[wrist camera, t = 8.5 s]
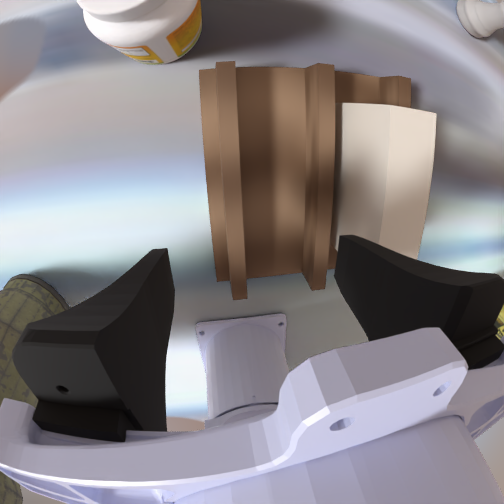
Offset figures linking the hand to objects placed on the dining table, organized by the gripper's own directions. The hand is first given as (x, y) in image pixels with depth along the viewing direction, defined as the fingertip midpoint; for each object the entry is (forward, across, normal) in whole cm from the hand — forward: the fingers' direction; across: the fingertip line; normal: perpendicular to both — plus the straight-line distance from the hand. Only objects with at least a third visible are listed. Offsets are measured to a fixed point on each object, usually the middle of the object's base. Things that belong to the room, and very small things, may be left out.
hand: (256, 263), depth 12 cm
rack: (+9, -5, -2) cm, 11 cm away
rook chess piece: (+10, -22, -19) cm, 31 cm away
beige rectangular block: (+8, -8, -2) cm, 12 cm away
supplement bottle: (+10, +5, -12) cm, 16 cm away
